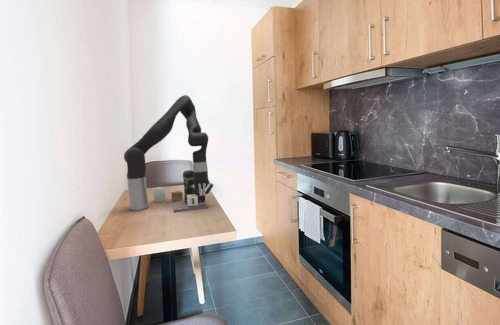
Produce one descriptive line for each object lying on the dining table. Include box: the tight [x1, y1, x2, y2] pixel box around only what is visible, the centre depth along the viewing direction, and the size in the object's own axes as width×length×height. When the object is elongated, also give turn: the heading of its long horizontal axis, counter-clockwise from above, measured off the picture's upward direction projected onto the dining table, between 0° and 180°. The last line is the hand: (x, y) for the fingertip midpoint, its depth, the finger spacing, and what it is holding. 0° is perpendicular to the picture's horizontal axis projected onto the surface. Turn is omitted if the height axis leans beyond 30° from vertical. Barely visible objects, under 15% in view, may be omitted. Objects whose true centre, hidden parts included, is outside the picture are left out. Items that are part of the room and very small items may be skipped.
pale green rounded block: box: [152, 186, 167, 204], centre depth 171 cm, size 7×7×8 cm
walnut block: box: [171, 190, 184, 203], centre depth 171 cm, size 5×5×5 cm
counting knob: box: [186, 194, 199, 206], centre depth 151 cm, size 6×5×5 cm
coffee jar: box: [182, 169, 201, 204], centre depth 164 cm, size 10×8×19 cm
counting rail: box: [172, 201, 208, 213], centre depth 151 cm, size 8×17×2 cm, turn 108°
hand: (202, 202), depth 153 cm, fingers closed
